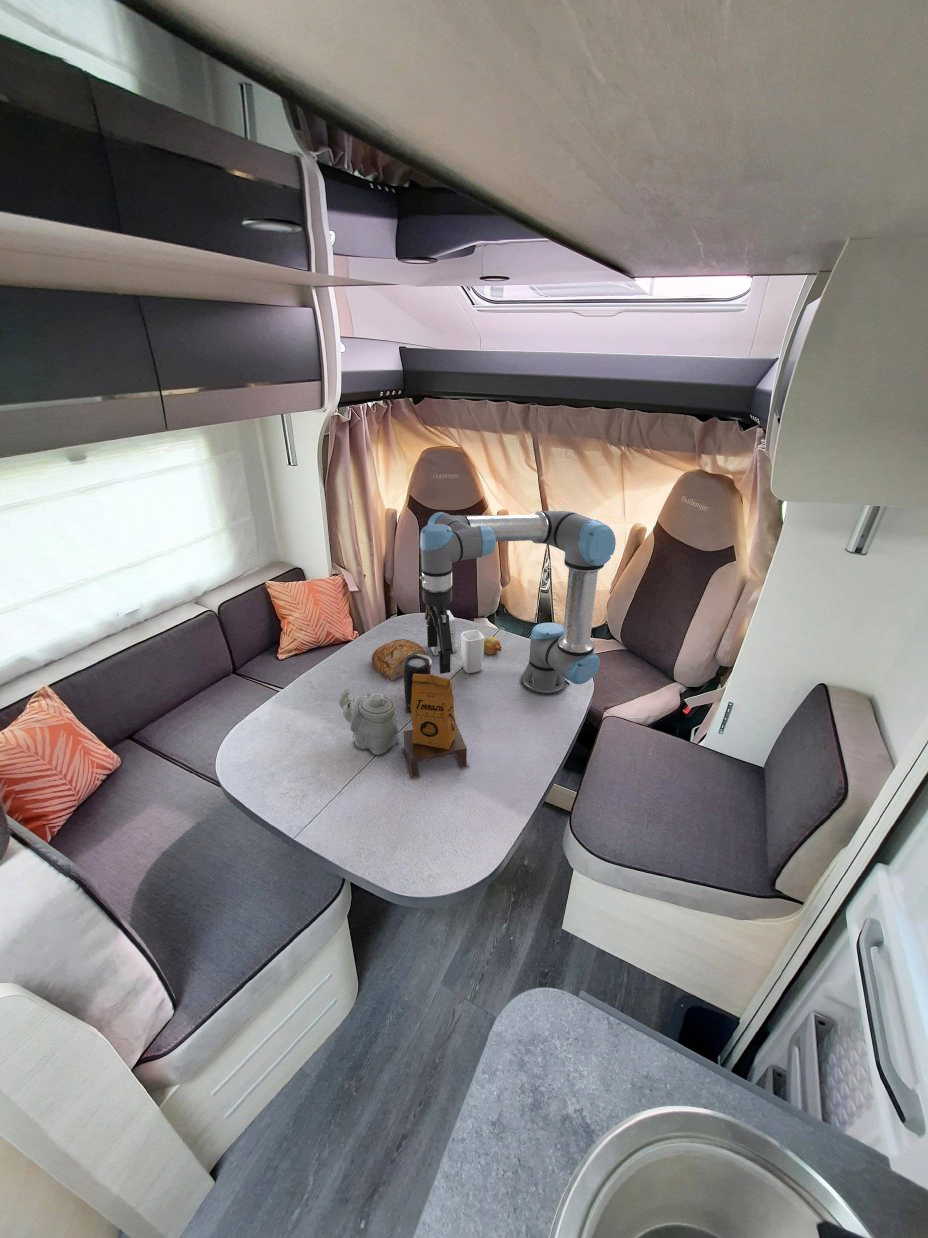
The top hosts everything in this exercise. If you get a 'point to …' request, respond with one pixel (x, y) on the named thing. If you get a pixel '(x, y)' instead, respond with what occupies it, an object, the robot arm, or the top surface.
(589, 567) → the robot arm
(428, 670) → the portable speaker
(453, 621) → the rectangular carton
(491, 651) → the fruit
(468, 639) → the cup
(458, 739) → the small table
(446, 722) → the coffee package
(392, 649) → the bread
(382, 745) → the teapot
